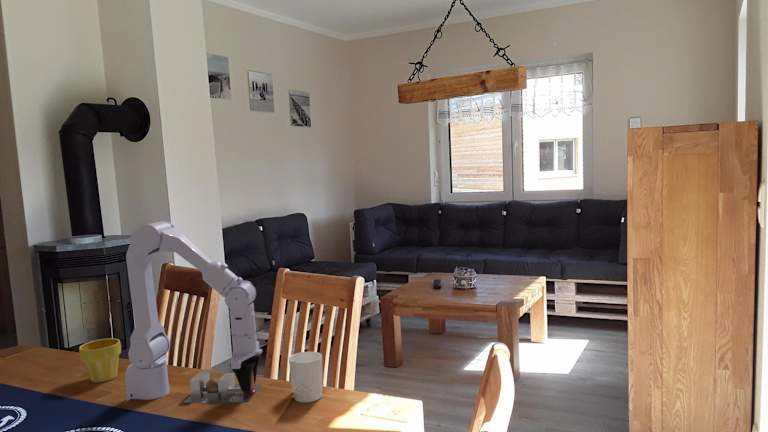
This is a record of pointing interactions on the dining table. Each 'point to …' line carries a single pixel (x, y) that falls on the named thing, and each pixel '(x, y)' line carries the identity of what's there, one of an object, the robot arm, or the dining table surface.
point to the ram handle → (232, 384)
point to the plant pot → (101, 358)
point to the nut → (212, 385)
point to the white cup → (306, 376)
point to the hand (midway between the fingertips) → (248, 387)
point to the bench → (203, 396)
